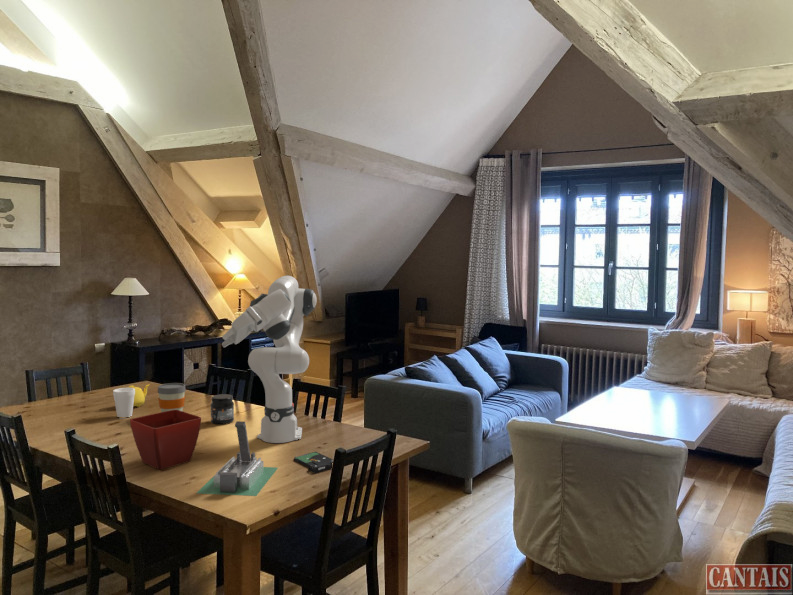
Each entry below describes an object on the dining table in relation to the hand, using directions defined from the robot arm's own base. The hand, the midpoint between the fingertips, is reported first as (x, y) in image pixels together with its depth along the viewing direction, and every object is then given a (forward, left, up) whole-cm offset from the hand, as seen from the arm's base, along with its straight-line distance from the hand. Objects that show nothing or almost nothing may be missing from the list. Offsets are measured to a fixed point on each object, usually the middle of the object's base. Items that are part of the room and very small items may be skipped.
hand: (223, 342), depth 221 cm
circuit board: (+14, +11, -46) cm, 50 cm away
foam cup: (-61, -71, -47) cm, 105 cm away
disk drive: (-6, +33, -47) cm, 58 cm away
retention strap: (+11, +11, -34) cm, 37 cm away
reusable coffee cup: (-64, -49, -47) cm, 93 cm away
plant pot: (-3, -23, -47) cm, 52 cm away
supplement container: (-58, -22, -47) cm, 77 cm away
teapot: (-80, -77, -47) cm, 120 cm away
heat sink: (+16, +11, -45) cm, 49 cm away
